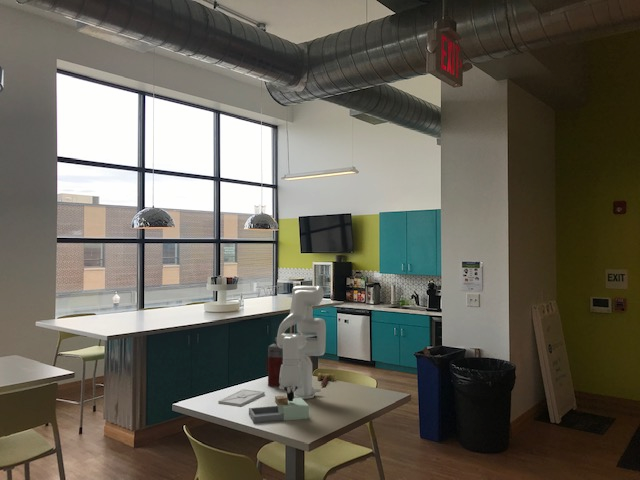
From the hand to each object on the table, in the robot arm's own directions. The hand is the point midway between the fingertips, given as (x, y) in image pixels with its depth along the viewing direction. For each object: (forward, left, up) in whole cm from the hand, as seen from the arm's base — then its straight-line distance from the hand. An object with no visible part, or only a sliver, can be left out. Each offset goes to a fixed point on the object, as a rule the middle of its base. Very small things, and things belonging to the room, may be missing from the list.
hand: (290, 400), depth 248 cm
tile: (+4, 0, -1) cm, 5 cm away
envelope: (+18, -35, -8) cm, 40 cm away
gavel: (-35, -55, -8) cm, 66 cm away
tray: (+12, 0, -7) cm, 14 cm away
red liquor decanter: (-6, -61, -7) cm, 62 cm away
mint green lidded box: (-1, 0, -7) cm, 7 cm away
